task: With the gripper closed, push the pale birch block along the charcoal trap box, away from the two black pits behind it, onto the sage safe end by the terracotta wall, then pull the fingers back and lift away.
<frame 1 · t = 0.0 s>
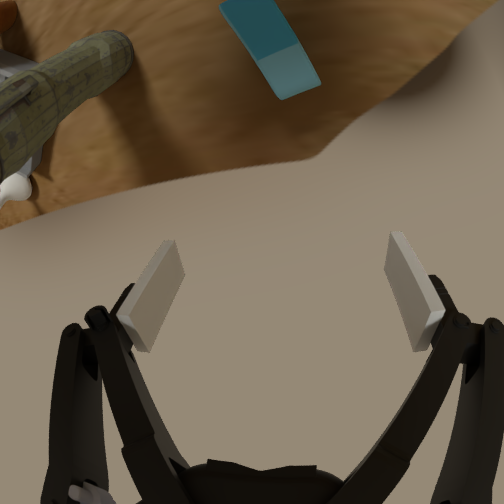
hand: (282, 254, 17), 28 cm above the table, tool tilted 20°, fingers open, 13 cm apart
thermos: (108, 56, 28), on the table
data package: (273, 31, 27), on the table
flower in vase: (18, 173, 45), on the table
trap box: (2, 99, 30), on the table
disposable coffee cup: (7, 15, 16), on the table
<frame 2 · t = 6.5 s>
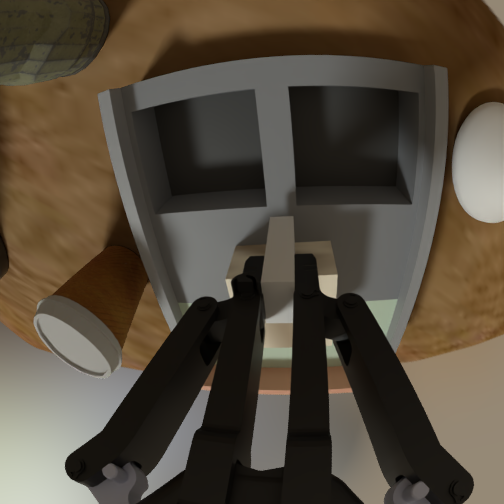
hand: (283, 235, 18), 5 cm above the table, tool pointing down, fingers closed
birch block: (285, 280, 22), point 4 cm above the table, touching gripper
thermos: (75, 35, 15), on the table
flower in vase: (481, 159, 18), on the table
trap box: (285, 229, 24), on the table
disposable coffee cup: (124, 267, 29), on the table
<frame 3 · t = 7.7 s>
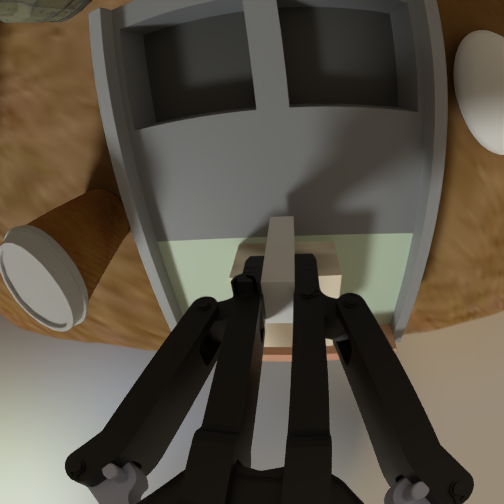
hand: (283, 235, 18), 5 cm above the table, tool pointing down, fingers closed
birch block: (288, 280, 22), point 4 cm above the table, touching gripper, trap box
flower in vase: (483, 90, 14), on the table
trap box: (280, 154, 21), on the table
disposable coffee cup: (105, 215, 26), on the table
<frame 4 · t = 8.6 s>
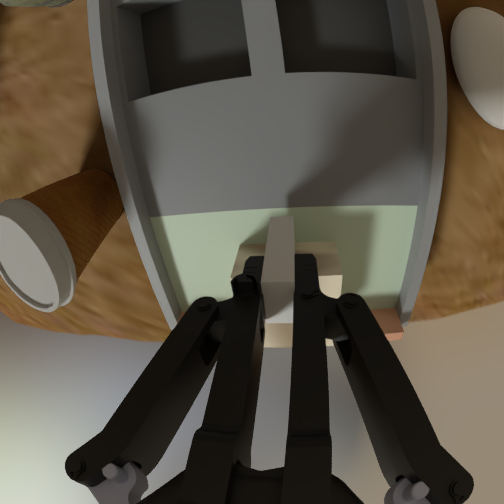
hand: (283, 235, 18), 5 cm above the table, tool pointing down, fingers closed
birch block: (289, 280, 22), point 4 cm above the table, touching gripper, trap box
flower in vase: (482, 66, 13), on the table
trap box: (277, 127, 20), on the table
disposable coffee cup: (99, 197, 25), on the table
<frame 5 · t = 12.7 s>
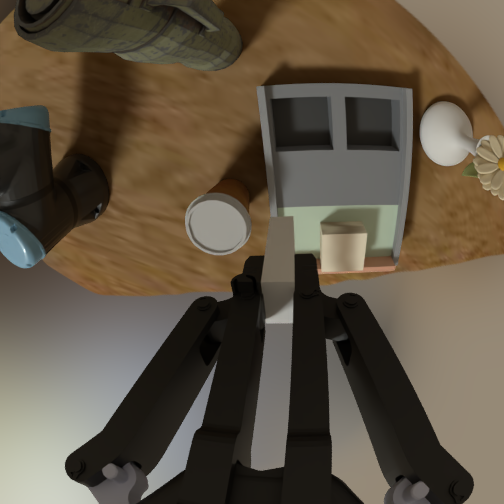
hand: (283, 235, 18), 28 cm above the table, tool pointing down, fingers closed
birch block: (340, 240, 46), point 4 cm above the table, touching trap box
thermos: (215, 46, 34), on the table
flower in vase: (438, 132, 36), on the table
trap box: (336, 168, 43), on the table
disposable coffee cup: (231, 195, 48), on the table
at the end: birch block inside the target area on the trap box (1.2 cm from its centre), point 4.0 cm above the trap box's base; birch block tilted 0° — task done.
